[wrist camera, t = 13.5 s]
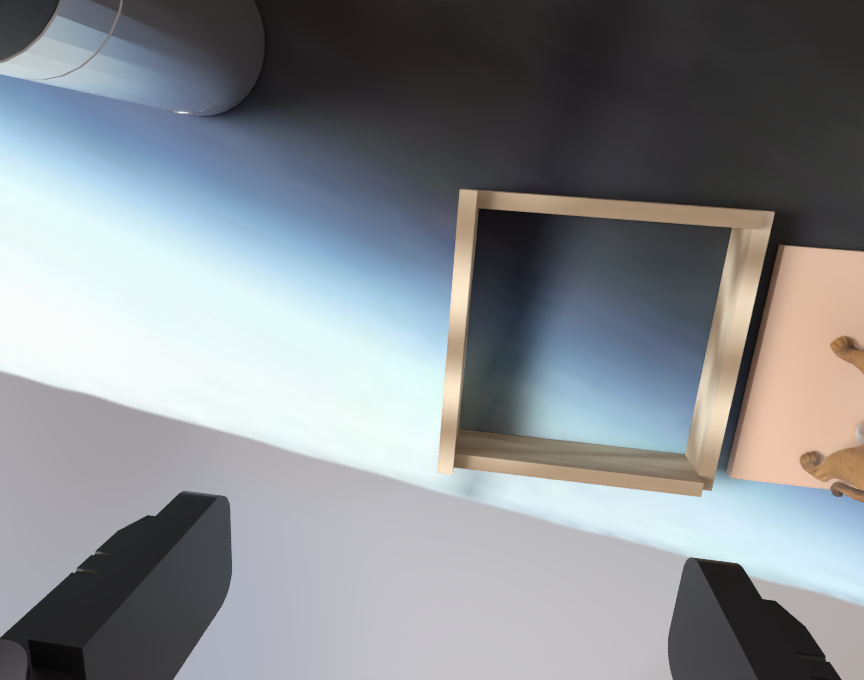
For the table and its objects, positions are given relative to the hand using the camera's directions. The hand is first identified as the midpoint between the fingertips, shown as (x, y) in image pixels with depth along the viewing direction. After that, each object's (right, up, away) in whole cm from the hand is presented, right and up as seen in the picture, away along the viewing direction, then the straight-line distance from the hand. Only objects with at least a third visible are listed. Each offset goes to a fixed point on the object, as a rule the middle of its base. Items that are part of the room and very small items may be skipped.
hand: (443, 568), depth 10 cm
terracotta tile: (+27, +2, +28) cm, 39 cm away
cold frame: (+10, +4, +29) cm, 31 cm away
